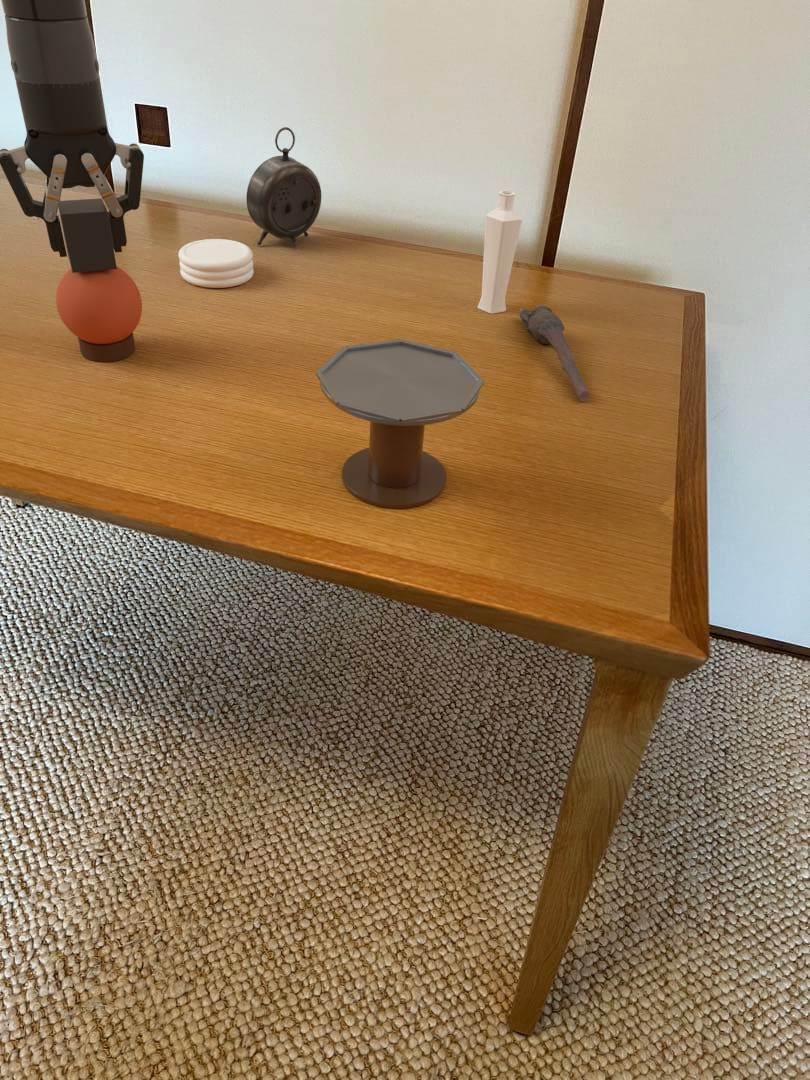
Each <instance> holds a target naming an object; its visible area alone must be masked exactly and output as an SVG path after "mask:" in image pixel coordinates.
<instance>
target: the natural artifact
mask: <svg viewBox="0 0 810 1080" xmlns="http://www.w3.org/2000/svg"><path fill="white" fill-rule="evenodd" d="M519 311H520V312H519V318H520V319H521V320H522V323H523V324H525V325H526V326H528V327H527V328H526V332H527V333H528V334H530V335H531V334H532V337H533V339H534V340H535V341H537V342H538V343H540V344H544V345H545V344H547V345H550V344H551V346H552V348H553V349H554V351H555V353H556V355H557V358H558V360H559V362H560V365H561V370H563V371H564V372H565V374H567V377H568V378H569V380H570V382H571V385H572V387H573V389H574V391H575V393H576V395H577V397H578V398H579V401H581V402H583V403H585V402H588V401H589V399H590V395H591V393H590V391H589V389H588V388H587V385H586V383H585V382H584V379H583V378H582V375H581V374H580V371H579V369H578V366H577V363H576V358H575V355H574V354H573V352H572V350H571V347H570V345H569V343H568V341H567V339H566V337H565V335H564V330H566V327H565V326H564V323H563V321H562V320H561V318H560V317H559V316H558V315H557V314H555V313H554V312H552V311H553V310H552V309H551V308H550V307H548V305H547V306H546V305H543V304H538V305H536V306H535V308H534V309H532V310H528V308H526V309H523V308H521V309H520V310H519Z"/></svg>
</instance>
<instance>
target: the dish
mask: <svg viewBox="0 0 810 1080" xmlns="http://www.w3.org/2000/svg"><path fill="white" fill-rule="evenodd" d="M315 376H316V377H317V379H318V380H319V387H320V390H321V391H322V393H323V395H324V397H325V398H326V400H327V401H328V402H330V403H331V404H332V405H333V406H334V407H336V408H337V409H339V410H340V411H342V412H344V413H346V414H348V415H350V416H352V417H355V418H358V419H361V420H364V421H367V422H369V440H368V447H367V448H363V449H361V450H358V451H357V452H355V453H353V454H352V455H350V456H349V457H348V458H347V459H346V460H345V462H344V463H343V466H342V469H341V481H342V484H343V485H344V488H345V489H346V490H347V492H349V493H350V494H351V495H352V496H353V497H355V498H356V499H358V500H360V501H361V502H363V503H365V504H368V505H371V506H374V507H378V508H383V509H391V510H392V509H394V510H399V509H400V510H403V509H411V508H416V507H420V506H424V505H426V504H429V503H431V502H432V501H434V500H435V499H437V498H438V497H439V496H440V495H441V494H442V493H443V491H444V489H445V488H446V484H447V472H446V469H445V467H444V466H443V464H442V463H441V462H440V461H439V460H438V459H436V457H434V456H433V455H431V454H429V452H425V451H423V450H424V440H425V439H424V438H425V429H426V428H425V427H426V426H427V425H434V424H439V423H444V422H446V421H450V420H453V419H455V418H457V417H460V416H461V415H463V414H464V413H466V412H468V411H469V410H470V409H471V408H472V407H473V406H474V405H475V404H476V402H477V401H478V398H479V395H480V391H481V389H482V387H483V386H484V384H485V379H484V378H483V377H482V376H481V375H480V374H479V373H478V372H477V371H476V370H475V369H474V368H473V367H472V366H471V364H469V363H468V362H467V361H466V360H465V359H464V357H462V356H461V355H460V354H459V353H458V352H456V351H453V350H449V349H445V348H441V347H436V346H434V345H433V346H432V345H428V344H424V343H419V342H415V341H411V340H407V339H403V338H401V339H400V338H396V339H389V340H382V341H374V342H365V343H359V344H357V343H356V344H349V345H345V346H342V347H341V348H340V349H339V350H338V351H337V352H335V354H334V355H332V356H331V357H330V358H329V359H328V360H327V361H325V362H324V363H323V364H322V365H321V366H320V367H319V368H318V369H317V370H316V371H315Z"/></svg>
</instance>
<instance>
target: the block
mask: <svg viewBox="0 0 810 1080" xmlns="http://www.w3.org/2000/svg"><path fill="white" fill-rule="evenodd" d="M107 209H108V208H107V206H106V204H105V201H104V200H103V198H102V197H101V198H86V199H84V198H83V199H69V200H67V199H66V200H60V201H59V205H58V213H59V219H60V224H61V229H62V234H63V239H64V244H65V249H66V253H67V258H68V261H69V265H70V269H72V272H73V273H76V272H88V271H99V270H111V269H117V267H118V266H117V260H116V255H115V251H114V248H113V242H112V236H111V230H110V224H109V218H108V212H109V211H108V210H107Z"/></svg>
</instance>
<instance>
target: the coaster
mask: <svg viewBox="0 0 810 1080" xmlns="http://www.w3.org/2000/svg"><path fill="white" fill-rule="evenodd" d="M253 258H254V254H253V251H252V249H251V248H250V247H249V246H248V245H246V244H244V243H242V242H240V241H237V240H231V239H225V238H206V239H198V240H195V241H191V242H189V243H186V244H185V245H183V246H182V247H181V248H180V249H179V251H178V259H179V267H180V269H179V272H180V275H181V277H182V278H183V280H185V281H186V282H188V283H189V284H191V285H193V286H197V287H201V288H208V289H222V288H223V289H225V288H233V287H238V286H240V285H243V284H245V283H247V282H249V280H251V279H252V278H253V276H254V273H255V272H254V271H255V269H254V260H253Z"/></svg>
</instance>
